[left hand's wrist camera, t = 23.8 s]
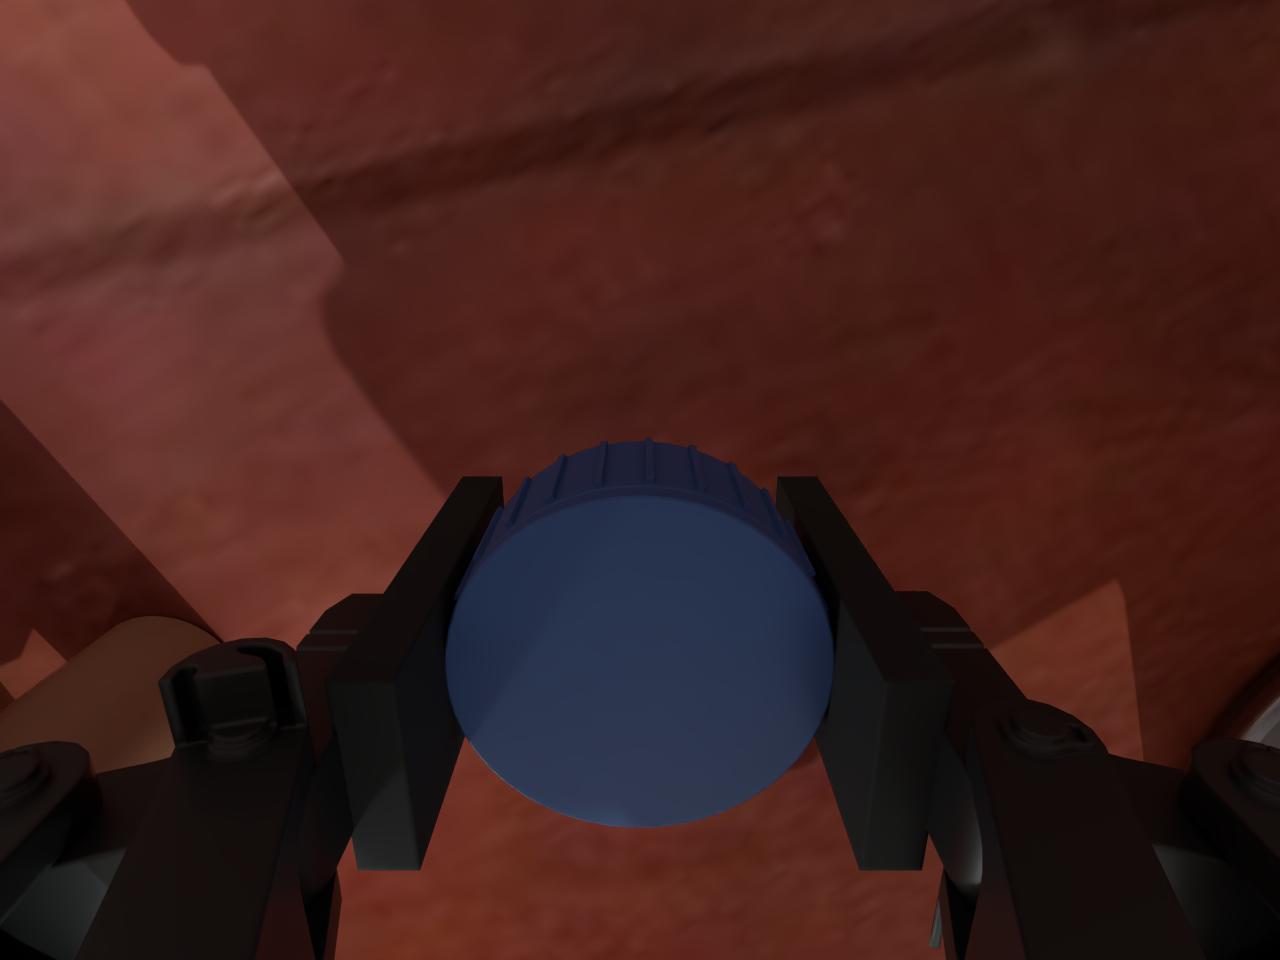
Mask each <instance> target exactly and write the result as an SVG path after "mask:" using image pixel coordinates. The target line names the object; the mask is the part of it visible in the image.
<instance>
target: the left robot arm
mask: <svg viewBox="0 0 1280 960" xmlns="http://www.w3.org/2000/svg"><path fill="white" fill-rule="evenodd" d="M499 506H500V507H502V508H503V509H504V499H503V485H502V477H462V479H461V480H460V482H459V483H458V485H457V486H456V487H455V489H454V490H453V492H452V493H451V495H450V496H449V498H448V499H447V501H446V502H445V504H444V505H443V507H442V508H441V510H440V511H439V513H438V514H437V515H436V517H435V518H434V520H433V521H432V523H431V524H430V526H429V527H428V529H427V530H426V532H425V533H424V535H423V536H422V538H421V539H420V541H419V542H418V543H417V545H416V546H415V548H414V549H413V551H412V552H411V554H410V555H409V557H408V558H407V560H406V561H405V563H404V564H403V566H402V567H401V569H400V570H399V572H398V573H397V574H396V576H395V577H394V579H393V580H392V582H391V583H390V585H389V586H388V588H387V589H386V591H385V592H384V594H351V595H349V596H348V597H346V598H345V599H343V600H342V601H340V602H338V603H337V604H335V605H334V606H332V607H331V608H329V609H327V610H326V611H325V612H324V613H323V614H322V616H321V617H320V618H319V620H318V621H317V622H316V623H315V625H314V626H313V627H312V628H311V630H310V634H307V635H306V636H305V637H304V638H303V640H302V641H301V642H300V643H299V645H298V646H297V650H296V651H295V650H294V649H293V648H292V647H290V646H289V645H288V644H287V643H285V642H284V641H279V640H275V639H270V638H245V639H239V640H234V641H229V642H225V643H220V644H216V645H214V646H211V647H209V648H206V649H204V650H201V651H199V652H196V653H194V654H191V655H190V656H188V657H186V658H185V659H183V660H182V661H180V662H178V663H177V664H175V665H174V666H172V667H171V668H170V669H169V670H168V671H167V672H166V673H165V674H164V675H163V676H162V677H161V679H160V680H159V681H158V686H159V689H160V693H161V697H162V700H163V704H164V708H165V711H166V715H167V719H168V722H169V726H170V730H171V733H172V737H173V741H174V744H175V748H174V750H173V752H172V755H171V757H169V758H165V759H161V760H158V761H153V762H149V763H144V764H139V765H134V766H130V767H125V768H120V769H115V770H111V771H106V772H101V773H96V772H95V769H94V766H93V763H92V760H91V757H90V754H89V752H88V751H87V750H86V749H84V748H83V747H82V746H81V745H79V744H78V743H73V742H65V741H50V742H42V743H35V744H29V745H24V746H20V747H16V748H15V749H13V750H12V749H10V750H7V751H4V752H1V753H0V960H334V957H335V949H336V941H337V933H338V925H339V917H340V909H341V901H342V898H341V891H340V883H339V878H338V873H337V866H338V864H339V861H340V859H341V857H342V855H343V853H344V851H345V849H346V846H347V844H348V842H349V840H350V838H351V836H352V841H353V847H354V853H355V858H356V864H357V869H358V870H420V869H421V866H422V863H423V860H424V857H425V854H426V851H427V848H428V845H429V842H430V839H431V836H432V833H433V830H434V827H435V824H436V821H437V818H438V815H439V812H440V809H441V806H442V803H443V800H444V797H445V794H446V791H447V788H448V785H449V782H450V779H451V776H452V773H453V770H454V767H455V764H456V761H457V758H458V756H459V753H460V750H461V747H462V744H463V741H464V738H465V735H464V733H463V731H462V729H461V727H460V725H459V722H458V720H457V718H456V716H455V714H454V711H453V707H452V704H451V701H450V698H449V695H448V687H447V678H446V668H445V644H446V638H447V632H448V626H449V623H450V620H451V617H452V614H453V611H454V608H455V605H456V603H457V600H454V596H455V593H456V591H457V589H458V587H459V585H460V583H461V581H462V579H463V576H464V574H465V572H466V570H467V568H468V566H469V564H470V562H471V560H472V558H473V556H474V554H475V552H476V550H477V548H478V546H479V544H480V542H481V541H482V538H483V536H484V534H485V532H486V530H487V528H488V526H489V524H490V522H491V520H492V518H493V516H494V514H495V512H496V510H497V509H498V507H499ZM776 509H777V510H778V512H779V514H780V515H781V517H782V519H783V520H784V521H786V520H788V519H789V520H790V522H791V524H792V526H793V528H794V530H795V532H796V534H797V536H798V538H799V540H800V542H801V544H802V546H803V548H804V551H805V553H806V555H807V557H808V559H809V561H810V563H811V565H812V567H813V569H814V571H815V573H816V575H815V576H813V577H814V579H815V581H816V583H817V586H818V588H819V590H820V592H821V594H822V596H823V598H824V600H825V602H826V604H827V606H828V608H829V616H828V617H829V621H830V625H831V629H832V633H833V637H834V649H835V664H834V673H833V683H832V691H831V696H830V701H829V704H828V707H827V710H826V712H825V715H824V717H823V720H822V723H821V725H820V726H819V728H818V730H817V732H816V734H815V735H814V736H815V739H816V742H817V745H818V748H819V751H820V754H821V757H822V760H823V763H824V766H825V769H826V772H827V775H828V778H829V781H830V784H831V787H832V790H833V793H834V796H835V799H836V802H837V805H838V808H839V811H840V813H841V816H842V819H843V822H844V825H845V828H846V831H847V834H848V837H849V840H850V843H851V846H852V849H853V852H854V855H855V858H856V861H857V864H858V867H859V870H922V867H923V861H924V856H925V850H926V844H927V839H928V833H929V835H930V837H931V839H932V842H933V844H934V846H935V848H936V850H937V852H938V854H939V857H940V859H941V861H942V863H943V865H944V868H943V873H942V878H941V883H940V888H939V894H938V899H937V904H936V909H935V914H934V920H933V925H932V930H931V938H930V945H929V946H930V947H934V948H938V949H939V948H940V943H941V938H942V933H943V939H944V947H945V955H946V960H1280V660H1279V661H1278V662H1277V663H1276V664H1275V665H1274V666H1272V667H1271V668H1270V669H1269V670H1268V671H1267V672H1266V673H1264V674H1263V675H1262V676H1261V677H1260V678H1259V679H1258V680H1257V681H1256V682H1255V683H1254V684H1253V685H1252V686H1251V687H1250V688H1249V689H1248V690H1247V691H1246V692H1245V693H1244V694H1243V695H1242V696H1241V697H1240V698H1239V699H1238V701H1237V702H1236V703H1235V704H1234V705H1233V707H1232V708H1231V709H1230V710H1229V711H1228V713H1227V714H1226V715H1225V716H1224V717H1223V719H1222V720H1221V722H1220V723H1219V725H1218V726H1217V727H1216V729H1215V730H1214V732H1213V733H1212V735H1211V736H1210V738H1209V739H1205V740H1202V741H1201V742H1199V743H1198V744H1197V745H1195V746H1194V747H1193V748H1192V749H1191V752H1190V755H1189V758H1188V761H1187V764H1186V767H1185V770H1180V769H1175V768H1171V767H1166V766H1161V765H1156V764H1152V763H1147V762H1142V761H1137V760H1132V759H1128V758H1123V757H1120V756H1116V755H1112V754H1109V753H1108V751H1107V749H1106V747H1105V745H1104V744H1103V743H1102V741H1101V740H1100V739H1099V737H1098V736H1097V735H1096V734H1095V732H1094V731H1093V730H1092V729H1091V728H1089V727H1088V726H1087V725H1085V724H1084V723H1083V722H1081V721H1080V720H1078V719H1077V718H1076V717H1074V716H1073V715H1071V714H1069V713H1066V712H1064V711H1062V710H1060V709H1058V708H1055V707H1053V706H1051V705H1049V704H1045V703H1041V702H1037V701H1033V700H1029V699H1027V698H1026V697H1025V696H1024V694H1023V693H1022V692H1021V691H1020V689H1019V688H1018V687H1017V686H1016V684H1015V683H1014V682H1013V681H1012V679H1011V678H1010V677H1009V676H1008V674H1007V673H1006V672H1005V671H1004V669H1003V668H1002V667H1001V666H1000V664H999V663H998V662H997V661H996V660H995V658H994V657H993V656H992V655H991V653H990V652H989V651H988V650H987V649H984V647H983V643H982V642H981V641H980V640H979V638H978V637H977V636H976V635H975V633H974V632H970V627H969V626H968V625H967V623H966V622H965V621H964V620H963V618H962V617H961V616H960V615H959V613H958V612H957V611H956V610H955V608H953V607H952V606H950V605H948V604H947V603H945V602H944V601H942V600H941V599H939V598H937V597H936V596H934V595H933V594H931V593H929V592H928V591H894V590H893V588H892V587H891V585H890V584H889V583H888V581H887V580H886V578H885V577H884V575H883V574H882V572H881V571H880V569H879V568H878V566H877V565H876V563H875V562H874V560H873V559H872V557H871V556H870V555H869V553H868V552H867V550H866V549H865V547H864V546H863V544H862V543H861V541H860V540H859V538H858V537H857V535H856V534H855V532H854V531H853V529H852V528H851V527H850V525H849V524H848V522H847V521H846V519H845V518H844V516H843V515H842V513H841V512H840V510H839V509H838V507H837V506H836V504H835V503H834V501H833V500H832V498H831V497H830V496H829V494H828V493H827V491H826V490H825V488H824V487H823V485H822V484H821V482H820V481H819V479H818V478H817V477H778V479H777V493H776Z"/></svg>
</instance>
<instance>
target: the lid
mask: <svg viewBox="0 0 1280 960" xmlns="http://www.w3.org/2000/svg"><path fill="white" fill-rule="evenodd" d="M815 575H816V573H815V571H814V569H813V567H812V565H811V563H810V561H809V559H808V557H807V555H806V553H805V551H804V548H803V546H802V544H801V542H800V540H799V538H798V536H797V534H796V532H795V530H794V528H793V526H792V524H791V522H790V520H789V519H788V520H786V521H784V520H783V519H782V517H781V515H780V514H779V512H778V510H777V509H776V507H775V505H774V502H773V500H772V498H771V496H770V494H769V492H768V490H767V489H766V488H765V487H764V488H762V489H761V490H760V489H759V488H758V487H757V486H756V485H755V484H754V483H752V482H751V481H750V480H749V479H748V478H747V477H745V476H744V475H743V474H741V473H740V472H738V469H737V467H736V464H734V463H732V462H730V463H729V464H726V463H724V462H722V461H720V460H718V459H716V458H714V457H712V456H710V455H707V454H704V453H701V452H699V451H697V448H696V446H693V445H689V448H686V447H682V446H677V445H672V444H668V443H657V442H652V438H645V441H641V442H620V443H614V444H608V442H607V441H603V442H600V446H597V447H594V448H591V449H587V450H584V451H580V452H578V453H575V454H573V455H571V456H568V457H566V455H565V454H563V455H561V456H559V457H558V460H557V462H556V463H554V464H553V465H551V466H549V467H548V468H546V469H544V470H543V471H541V472H539V473H538V474H537V475H536V476H535V477H533V478H532V479H530V478H529V477H528V476H527V477H526V478H525V479H524V480H523V482H522V484H521V486H520V488H519V491H518V492H517V493H516V494H515V495H514V496H513V497H512V498H511V499H510V500H509V502H508V503H507V505H506V506H505V507H504V509H503V508H502V507H500V506H499V507H498V509H497V510H496V512H495V514H494V516H493V518H492V520H491V522H490V524H489V526H488V528H487V530H486V532H485V534H484V536H483V538H482V541H481V542H480V544H479V546H478V548H477V550H476V552H475V554H474V556H473V558H472V560H471V562H470V564H469V566H468V568H467V570H466V572H465V574H464V576H463V579H462V581H461V583H460V585H459V587H458V589H457V591H456V593H455V596H454V600H457V603H456V605H455V608H454V611H453V614H452V617H451V620H450V623H449V626H448V632H447V638H446V644H445V668H446V678H447V687H448V695H449V698H450V701H451V704H452V707H453V711H454V714H455V716H456V718H457V720H458V722H459V725H460V727H461V729H462V731H463V733H464V735H465V736H466V738H467V739H468V741H469V742H470V744H471V745H472V747H473V748H474V750H475V751H476V753H477V754H478V755H479V756H480V757H481V758H482V760H483V761H484V762H485V763H486V764H487V765H488V766H489V768H490V769H491V770H493V771H494V772H495V773H496V774H497V775H498V776H499V777H500V778H502V779H503V780H504V781H505V782H506V783H507V784H509V785H510V786H511V787H513V788H514V789H516V790H517V791H519V792H520V793H522V794H523V795H524V796H526V797H528V798H530V799H532V800H533V801H535V802H537V803H539V804H541V805H543V806H544V807H547V808H549V809H552V810H554V811H557V812H559V813H562V814H564V815H566V816H570V817H573V818H577V819H580V820H584V821H587V822H592V823H598V824H604V825H609V826H620V827H633V828H638V827H661V826H669V825H677V824H683V823H687V822H691V821H695V820H700V819H704V818H707V817H709V816H712V815H715V814H718V813H721V812H724V811H726V810H728V809H730V808H732V807H735V806H737V805H739V804H741V803H743V802H745V801H747V800H748V799H750V798H752V797H753V796H755V795H756V794H758V793H760V792H761V791H763V790H764V789H766V788H767V787H768V786H770V785H771V784H772V783H773V782H775V781H776V780H777V779H778V778H780V777H781V776H782V775H783V774H784V773H785V772H786V771H787V770H788V769H789V768H790V767H791V766H792V765H793V764H794V763H795V762H796V761H797V760H798V758H799V757H800V756H801V754H802V753H803V752H804V750H805V749H806V748H807V746H808V745H809V744H810V742H811V741H812V739H813V737H814V735H815V734H816V732H817V730H818V728H819V726H820V725H821V723H822V720H823V717H824V715H825V712H826V710H827V707H828V704H829V701H830V696H831V691H832V683H833V673H834V664H835V649H834V637H833V633H832V629H831V625H830V621H829V617H828V616H829V608H828V606H827V604H826V602H825V600H824V598H823V596H822V594H821V592H820V590H819V588H818V586H817V583H816V581H815V579H814V577H813V576H815Z"/></svg>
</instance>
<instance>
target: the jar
mask: <svg viewBox="0 0 1280 960" xmlns="http://www.w3.org/2000/svg"><path fill="white" fill-rule="evenodd" d="M220 643H221V642H219V641H218V640H217V639H216V638H215V637H213V636H212V635H211V634H209V633H208V632H206V631H205V630H203V629H201V628H199V627H197V626H195V625H193V624H191V623H188V622H186V621H182V620H179V619H176V618H170V617H165V616H143V617H137V618H133V619H129V620H126V621H123V622H121V623H119V624H117V625H116V626H114V627H113V628H111V629H110V630H108V631H107V632H106V633H104V634H103V635H102V636H100V637H99V638H98V639H96V640H95V641H94V642H92V643H91V644H89V645H88V646H87V647H85V648H84V649H83V650H81V651H80V652H79V653H77V654H76V655H75V656H73V657H72V658H71V659H69V660H68V661H67V662H65V663H64V664H63V665H61V666H60V667H59V668H57V669H56V670H55V671H53V672H52V673H51V674H49V675H48V676H47V677H45V678H44V679H43V680H41V681H40V682H39V683H37V684H36V685H35V686H33V687H32V688H31V689H29V690H28V691H27V692H25V693H24V694H23V695H21V696H20V697H18V698H17V699H16V700H14V701H13V702H12V703H10V704H9V705H8V706H6V707H5V708H4V709H2V710H1V711H0V753H1V752H4V751H7V750H10V749H12V750H13V749H15V748H16V747H20V746H24V745H29V744H35V743H42V742H50V741H65V742H73V743H78V744H79V745H81V746H82V747H83V748H84V749H86V750H87V751H88V752H89V754H90V757H91V760H92V763H93V766H94V769H95V772H96V773H101V772H106V771H111V770H115V769H120V768H125V767H130V766H134V765H139V764H144V763H149V762H153V761H158V760H161V759H165V758H169V757H171V755H172V752H173V750H174V748H175V744H174V741H173V737H172V733H171V730H170V726H169V722H168V719H167V715H166V711H165V708H164V704H163V700H162V697H161V693H160V689H159V686H158V681H159V680H160V679H161V677H162V676H163V675H164V674H165V673H166V672H167V671H168V670H169V669H170V668H171V667H172V666H174V665H175V664H177V663H178V662H180V661H182V660H183V659H185V658H186V657H188V656H190V655H191V654H194V653H196V652H199V651H201V650H204V649H206V648H209V647H211V646H214V645H216V644H220Z"/></svg>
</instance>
